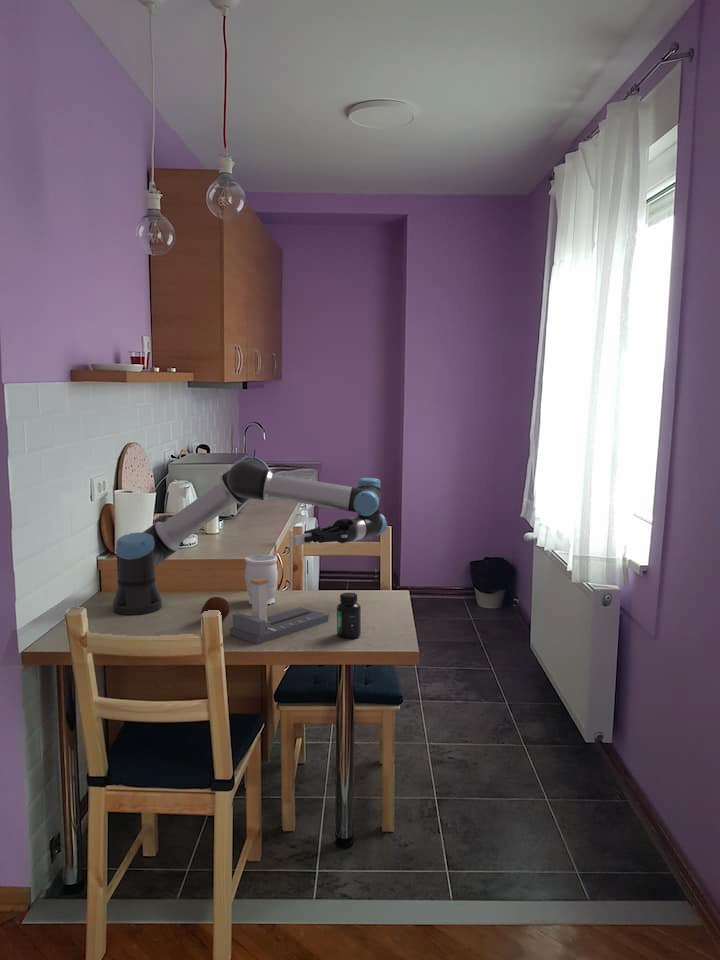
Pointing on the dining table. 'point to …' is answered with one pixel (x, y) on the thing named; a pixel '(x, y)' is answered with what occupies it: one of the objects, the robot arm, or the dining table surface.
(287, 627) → the console
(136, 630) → the dining table surface
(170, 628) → the dining table surface
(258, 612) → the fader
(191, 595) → the dining table surface
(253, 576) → the jar
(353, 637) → the supplement bottle
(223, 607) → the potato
